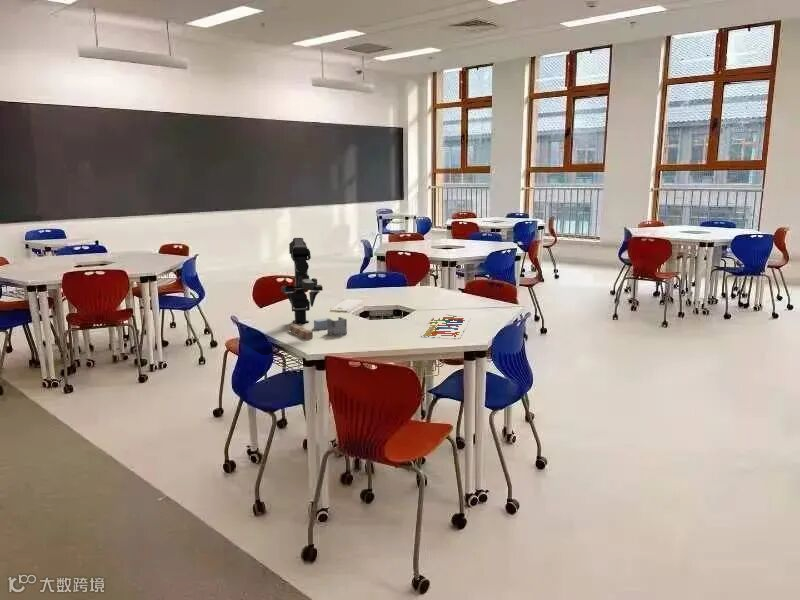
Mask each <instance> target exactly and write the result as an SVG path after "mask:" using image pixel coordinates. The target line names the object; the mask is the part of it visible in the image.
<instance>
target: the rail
mask: <svg viewBox="0 0 800 600" xmlns="http://www.w3.org/2000/svg"><path fill="white" fill-rule="evenodd" d="M290 331H291V332H290ZM289 332H290V333H292V332H293V333H292V334H294V333H295V334H294V335H296V334H297V335H296V336H298V335H299V337H300V336H301V337H300V338H302V337H303V339H304V338H305V339H304V340H306V339H308V340H312V338H314V336H313V335H314V334H313V331H312V330H309V329H307V328H305V327H303V326H300V325H299V324H296V323H294V324H289Z"/></svg>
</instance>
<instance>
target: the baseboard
mask: <svg viewBox="0 0 800 600" xmlns="http://www.w3.org/2000/svg"><path fill="white" fill-rule="evenodd" d="M363 301H364V300H363V299H351V298H350V299H349V298H347V299H345V300H344V301H342V302H340V303H339V304H338V305H335V306H334V307H333V308H330V310H329V311H330V312H331V311H337V312H336V313H350V312H352V311H353V310H354V309H355V308H357V307H358V306H359V305H361V304H362V303H363ZM361 302H362V303H361ZM360 303H361V304H360ZM356 306H357V307H356ZM352 309H353V310H352Z"/></svg>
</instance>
